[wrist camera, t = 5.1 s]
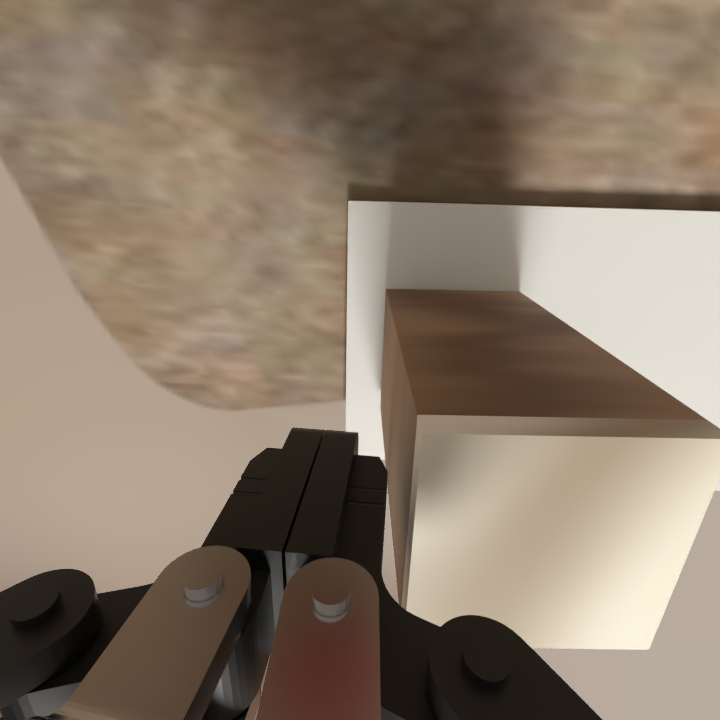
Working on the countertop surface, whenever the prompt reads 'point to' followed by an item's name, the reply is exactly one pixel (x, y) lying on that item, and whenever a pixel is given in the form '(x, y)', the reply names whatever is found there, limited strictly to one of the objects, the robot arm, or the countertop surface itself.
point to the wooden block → (534, 472)
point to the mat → (545, 285)
